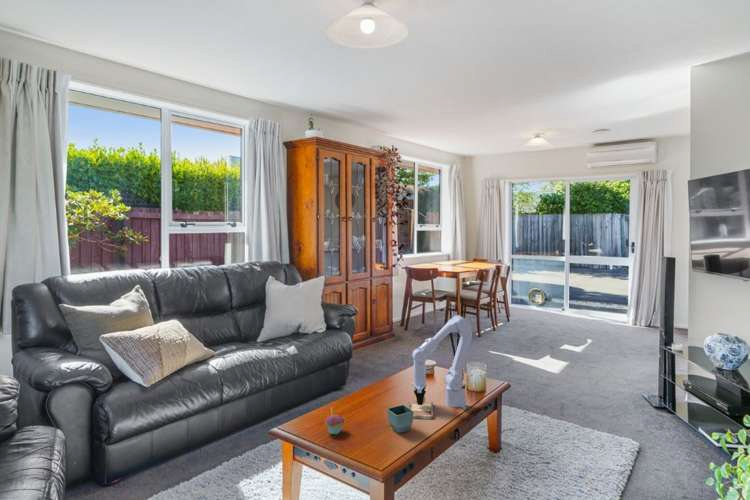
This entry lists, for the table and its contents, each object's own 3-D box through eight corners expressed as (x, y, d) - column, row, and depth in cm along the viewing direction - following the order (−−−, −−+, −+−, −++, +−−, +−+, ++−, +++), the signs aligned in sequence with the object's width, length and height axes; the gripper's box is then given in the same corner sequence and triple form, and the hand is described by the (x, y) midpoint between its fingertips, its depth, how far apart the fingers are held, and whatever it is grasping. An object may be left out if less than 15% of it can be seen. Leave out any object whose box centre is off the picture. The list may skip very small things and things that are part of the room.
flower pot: (396, 436, 189) (396, 415, 189) (386, 428, 197) (386, 408, 197) (414, 432, 194) (414, 411, 193) (403, 424, 201) (403, 404, 201)
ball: (425, 402, 220) (425, 392, 220) (425, 406, 215) (425, 396, 215) (415, 402, 220) (415, 392, 220) (414, 406, 215) (414, 396, 215)
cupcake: (336, 438, 189) (335, 409, 188) (320, 433, 193) (319, 406, 193) (348, 430, 196) (347, 403, 196) (332, 426, 201) (332, 399, 200)
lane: (432, 406, 220) (432, 404, 220) (432, 421, 204) (432, 418, 204) (408, 406, 222) (407, 403, 222) (406, 420, 205) (406, 418, 205)
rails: (432, 406, 220) (432, 401, 220) (432, 421, 204) (432, 416, 204) (408, 406, 222) (407, 401, 222) (406, 420, 205) (406, 415, 205)
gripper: (411, 369, 225) (412, 396, 225) (410, 379, 210) (411, 408, 211) (426, 369, 224) (426, 397, 224) (426, 379, 209) (426, 408, 210)
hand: (420, 402), depth 218 cm, fingers closed on ball, 5 cm apart
